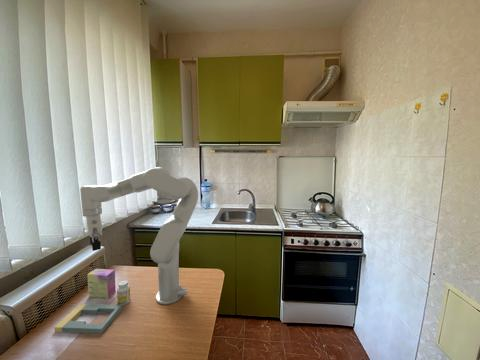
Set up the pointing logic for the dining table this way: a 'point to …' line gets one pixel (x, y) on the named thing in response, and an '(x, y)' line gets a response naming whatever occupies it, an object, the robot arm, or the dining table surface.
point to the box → (101, 283)
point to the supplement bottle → (123, 292)
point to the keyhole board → (80, 326)
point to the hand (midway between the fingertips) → (95, 246)
